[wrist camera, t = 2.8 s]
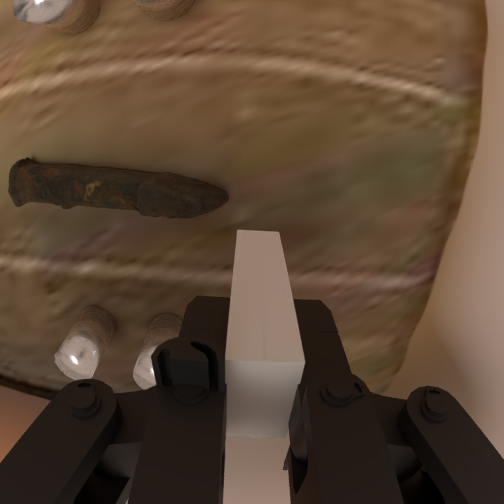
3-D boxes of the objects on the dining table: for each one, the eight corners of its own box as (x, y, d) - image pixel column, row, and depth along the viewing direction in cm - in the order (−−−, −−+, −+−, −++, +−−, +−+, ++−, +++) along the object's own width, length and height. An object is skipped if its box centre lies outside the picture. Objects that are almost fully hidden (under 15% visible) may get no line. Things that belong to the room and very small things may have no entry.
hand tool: (30, 196, 25) (2, 212, 21) (30, 155, 23) (0, 166, 19) (222, 224, 27) (218, 248, 23) (230, 178, 25) (227, 193, 21)
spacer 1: (57, 38, 19) (9, 27, 13) (63, -1, 17) (18, -20, 11) (97, 29, 19) (53, 12, 13) (102, -11, 17) (63, -37, 11)
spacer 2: (86, 333, 32) (62, 377, 25) (78, 303, 30) (49, 346, 24) (118, 338, 32) (97, 384, 25) (111, 307, 30) (86, 353, 24)
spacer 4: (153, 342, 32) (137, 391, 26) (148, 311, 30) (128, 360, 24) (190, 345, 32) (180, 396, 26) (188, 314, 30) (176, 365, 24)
